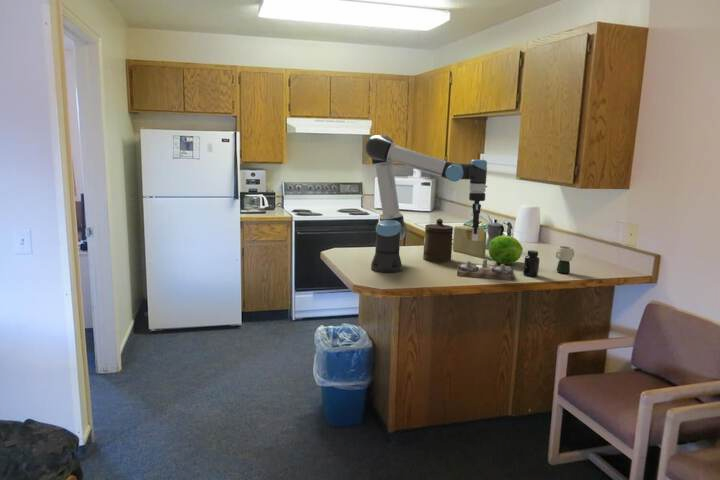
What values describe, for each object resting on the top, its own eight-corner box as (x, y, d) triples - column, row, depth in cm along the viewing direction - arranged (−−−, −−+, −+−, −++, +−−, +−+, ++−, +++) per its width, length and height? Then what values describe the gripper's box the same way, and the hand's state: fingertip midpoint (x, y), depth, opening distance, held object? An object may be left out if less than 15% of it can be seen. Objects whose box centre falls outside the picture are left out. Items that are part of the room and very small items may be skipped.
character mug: (566, 270, 262) (569, 245, 259) (576, 274, 255) (579, 248, 253) (549, 271, 258) (552, 246, 256) (558, 275, 252) (561, 249, 249)
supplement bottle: (520, 274, 249) (522, 250, 247) (527, 272, 254) (529, 249, 252) (533, 277, 245) (536, 253, 242) (540, 275, 249) (543, 251, 247)
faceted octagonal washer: (466, 240, 247) (466, 230, 246) (466, 237, 255) (466, 227, 254) (483, 241, 245) (484, 230, 244) (483, 238, 253) (483, 228, 252)
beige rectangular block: (490, 257, 285) (493, 231, 282) (477, 259, 280) (479, 232, 277) (464, 249, 304) (466, 224, 301) (451, 250, 299) (453, 225, 296)
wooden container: (437, 255, 285) (439, 216, 281) (456, 260, 274) (459, 220, 269) (417, 258, 277) (419, 217, 272) (436, 264, 265) (439, 222, 261)
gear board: (457, 275, 243) (458, 263, 242) (457, 265, 263) (458, 254, 261) (513, 280, 238) (515, 267, 237) (510, 270, 258) (511, 258, 257)
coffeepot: (480, 247, 312) (482, 218, 309) (493, 246, 316) (496, 217, 312) (494, 252, 298) (497, 222, 295) (508, 252, 301) (511, 221, 298)
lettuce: (527, 269, 271) (535, 241, 267) (500, 268, 261) (507, 240, 257) (505, 258, 285) (512, 232, 281) (478, 258, 275) (485, 231, 271)
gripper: (486, 194, 235) (483, 243, 239) (484, 190, 255) (482, 235, 259) (469, 194, 236) (466, 242, 240) (469, 190, 256) (467, 234, 261)
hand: (474, 238), depth 250 cm, fingers closed on faceted octagonal washer, 8 cm apart
